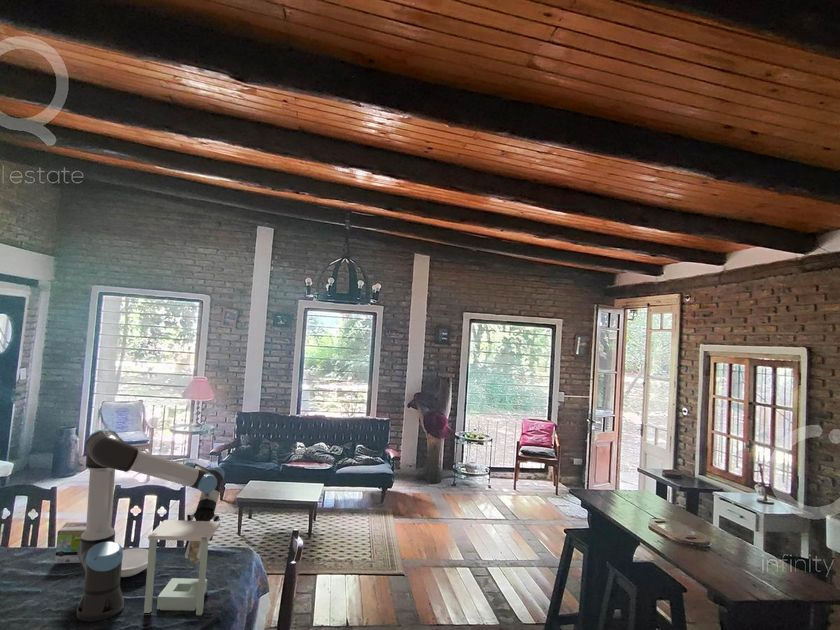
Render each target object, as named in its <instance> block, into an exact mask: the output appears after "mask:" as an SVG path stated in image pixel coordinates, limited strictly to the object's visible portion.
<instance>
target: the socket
mask: <svg viewBox="0 0 840 630" xmlns="http://www.w3.org/2000/svg"><path fill="white" fill-rule="evenodd" d="M213 521H214V520H213ZM213 521H212V520H210V521H196V520H191V521H187V520H183V519H182V520H180V519H178V520H175V519H164V520H163V521H162V522H161V523H160V524H158V525H157V526H156V527H155V529H154V530H153V531H151V533H149V534H148V536H147V540H148V541H149V542H148V550H149V552H148V565H147V568H146V579H145V595H144V607H143V614H144V613H150V612H151V613H152V609H153V608H152V607H153V595H154V586H155V585H154V584H155V573H156V570H155V569H156V559H157V558H156V557H157V543H158V541H184V542H185V541H201V554H200V561H199V567H198V569H199V571H198V578H180V577H179V578H178V577H172V578H171V579H170V580H169V581H168V583H167V584H166V586H165V587H164V588H163V589H162V590H161V591H160V593H159V595H158V596H157V602H156V603H157V604H156V605H157V606H156V610H157V609H158V610H159V609H160V610H159V611H195V615H196V616H202V614H203V613H204V602H205V595H206V592H207V588H208V579H207V566H208V565H207V564H208V552H209V542H210V541H209V540H210V538H211V537H212V536H213V537H214V535H215V533H216V531H218V529H219V528H220V526H221V521H218V522H213ZM213 534H214V535H213ZM158 610H157V611H158ZM151 613H150V614H151Z"/></svg>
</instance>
